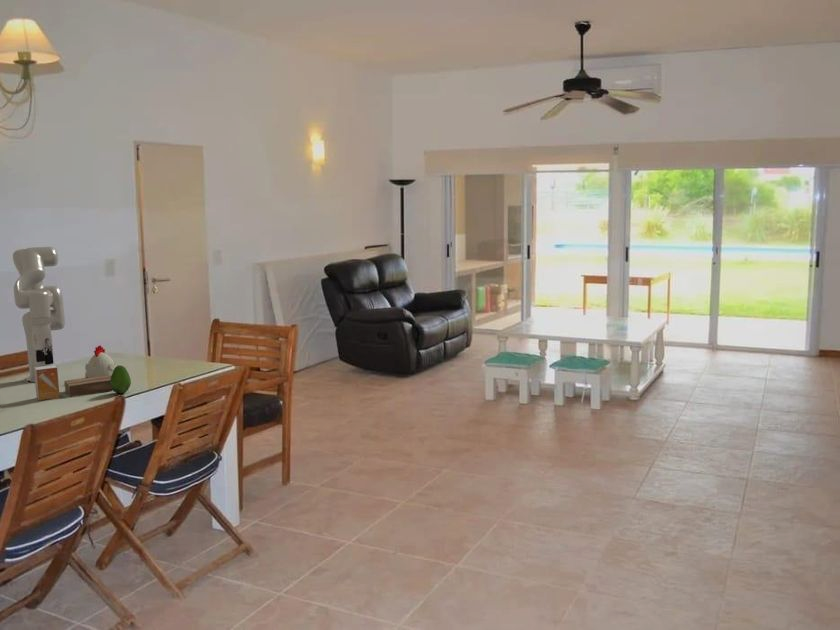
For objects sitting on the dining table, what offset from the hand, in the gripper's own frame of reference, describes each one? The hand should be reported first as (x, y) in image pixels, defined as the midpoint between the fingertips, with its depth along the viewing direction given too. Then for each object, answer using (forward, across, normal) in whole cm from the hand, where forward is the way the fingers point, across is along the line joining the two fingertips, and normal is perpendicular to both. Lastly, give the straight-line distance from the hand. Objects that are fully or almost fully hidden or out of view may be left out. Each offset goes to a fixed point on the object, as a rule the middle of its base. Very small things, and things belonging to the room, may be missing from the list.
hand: (45, 362), depth 326 cm
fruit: (+15, +15, +24) cm, 32 cm away
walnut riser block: (+15, 0, +17) cm, 23 cm away
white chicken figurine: (+14, -22, +31) cm, 41 cm away
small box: (+15, -1, 0) cm, 15 cm away
